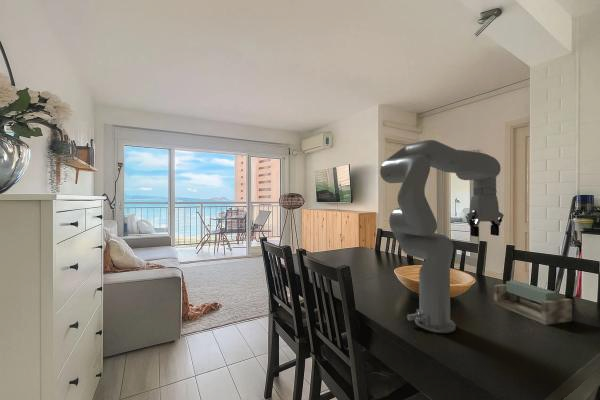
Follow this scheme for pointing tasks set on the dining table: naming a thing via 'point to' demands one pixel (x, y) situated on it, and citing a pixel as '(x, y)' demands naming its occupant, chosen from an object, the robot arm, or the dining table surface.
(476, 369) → the dining table surface
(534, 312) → the shelf frame
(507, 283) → the grey-green rectangular block
